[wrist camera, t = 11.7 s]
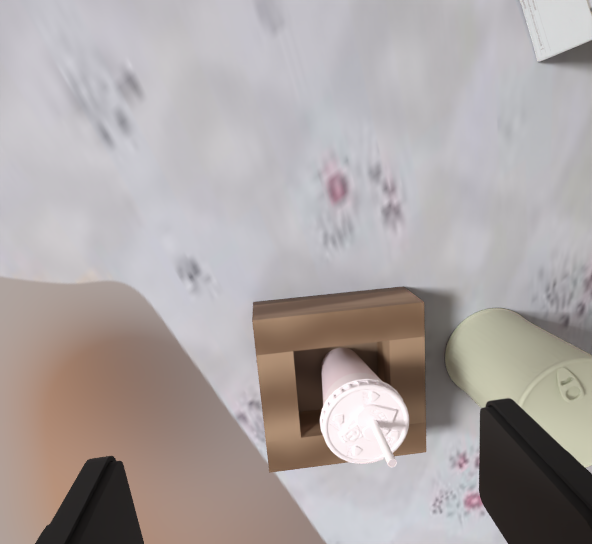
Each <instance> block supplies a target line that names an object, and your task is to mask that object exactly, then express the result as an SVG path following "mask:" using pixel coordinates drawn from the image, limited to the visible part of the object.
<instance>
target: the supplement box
mask: <svg viewBox="0 0 592 544" xmlns="http://www.w3.org/2000/svg"><path fill="white" fill-rule="evenodd" d="M520 3H521V6H522V9H523V12H524V15H525V19H526V22H527V26H528V29H529V33H530V36H531V39H532V43H533V47H534V51H535V55H536V59H537V61H538V62H540V61H543V60H546V59H548V58H551V57H553V56H556V55H558V54H560V53H563V52H565V51H567V50H570V49H572V48H574V47H577V46H579V45H582V44H584V43H586V42H589V41H591V40H592V0H520Z"/></svg>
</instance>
